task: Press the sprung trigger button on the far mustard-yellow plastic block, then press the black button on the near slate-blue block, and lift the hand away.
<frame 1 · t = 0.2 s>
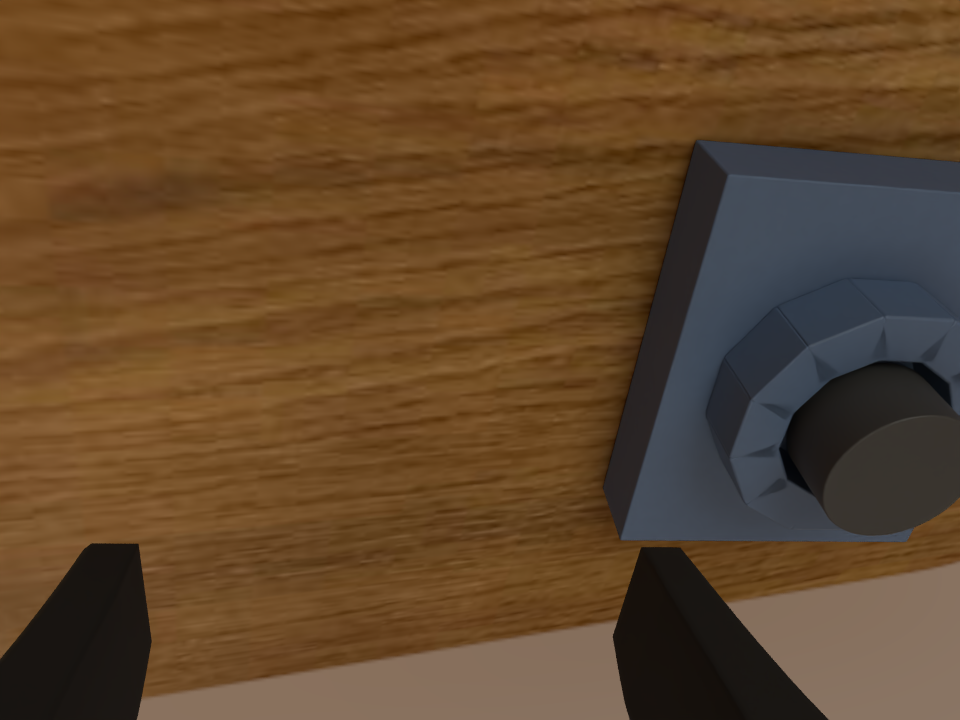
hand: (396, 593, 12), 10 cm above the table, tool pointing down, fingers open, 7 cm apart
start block: (797, 343, 24), on the table
start button: (879, 450, 20), point 5 cm above the table, slide at 0.1 cm
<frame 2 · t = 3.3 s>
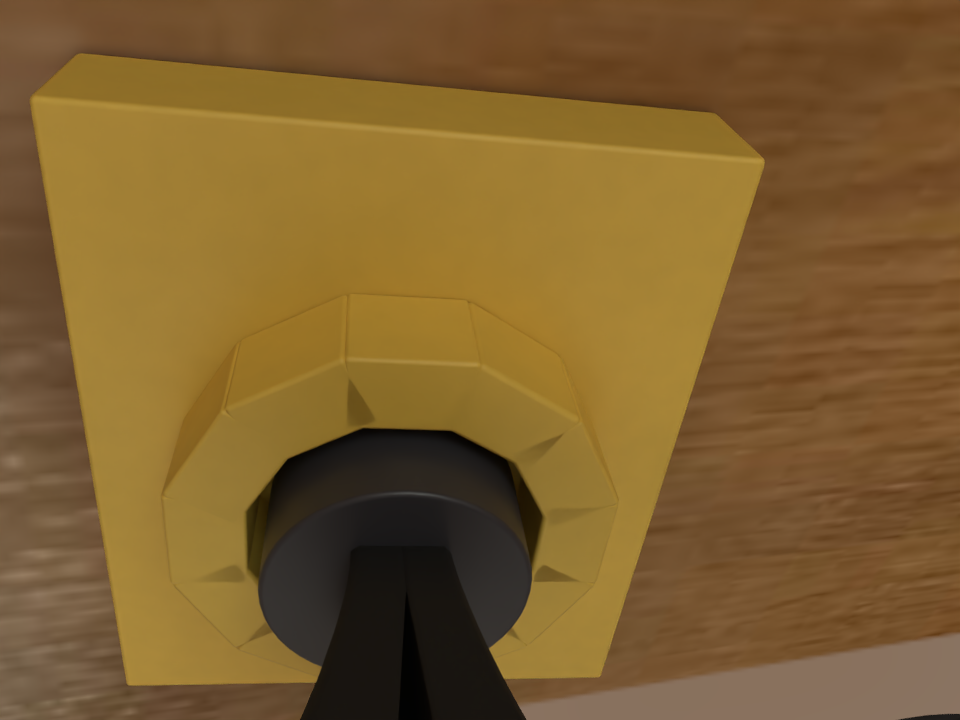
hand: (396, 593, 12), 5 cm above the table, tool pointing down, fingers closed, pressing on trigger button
trigger button: (395, 543, 13), point 4 cm above the table, slide at -0.6 cm, touching gripper
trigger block: (390, 393, 16), on the table
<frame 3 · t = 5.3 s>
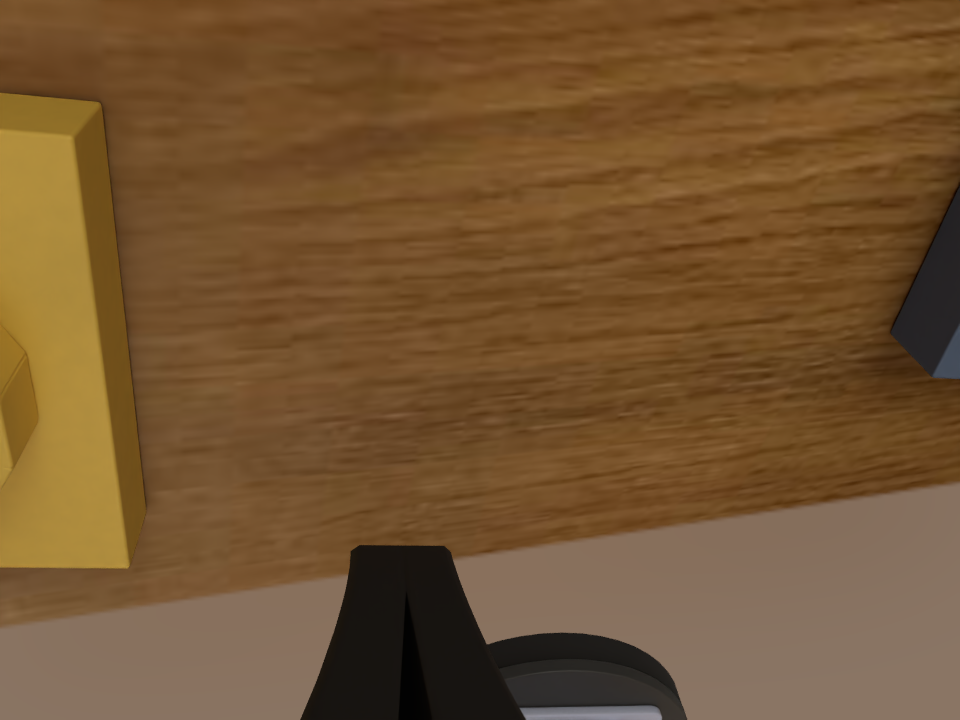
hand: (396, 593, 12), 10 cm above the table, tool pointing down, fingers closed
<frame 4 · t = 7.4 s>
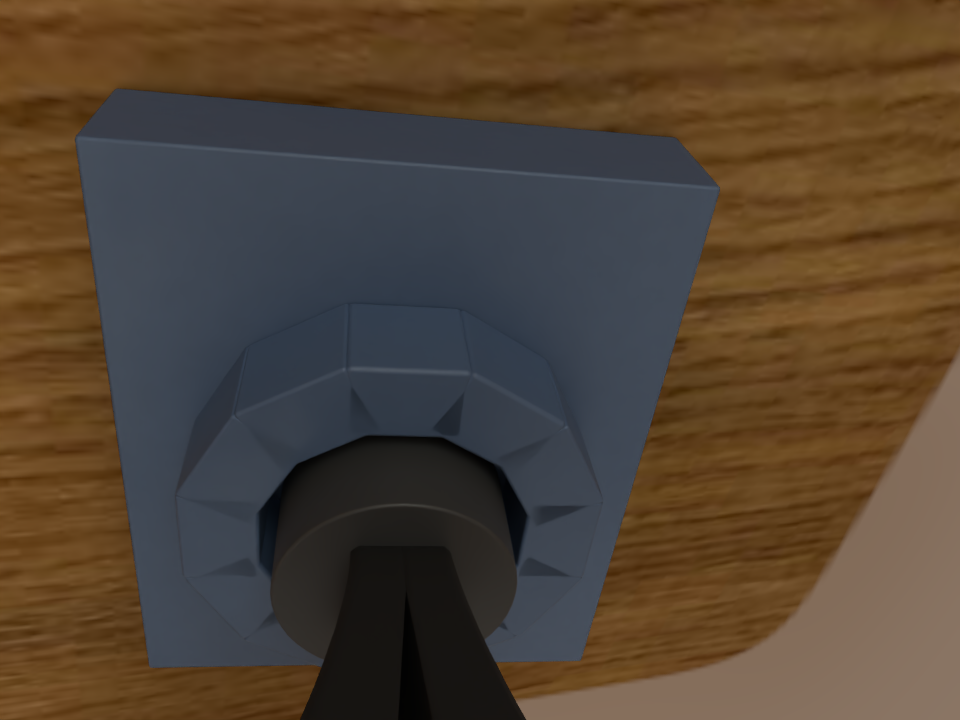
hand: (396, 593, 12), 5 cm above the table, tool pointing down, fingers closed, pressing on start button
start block: (388, 391, 17), on the table
start button: (394, 544, 13), point 4 cm above the table, slide at -0.5 cm, touching gripper
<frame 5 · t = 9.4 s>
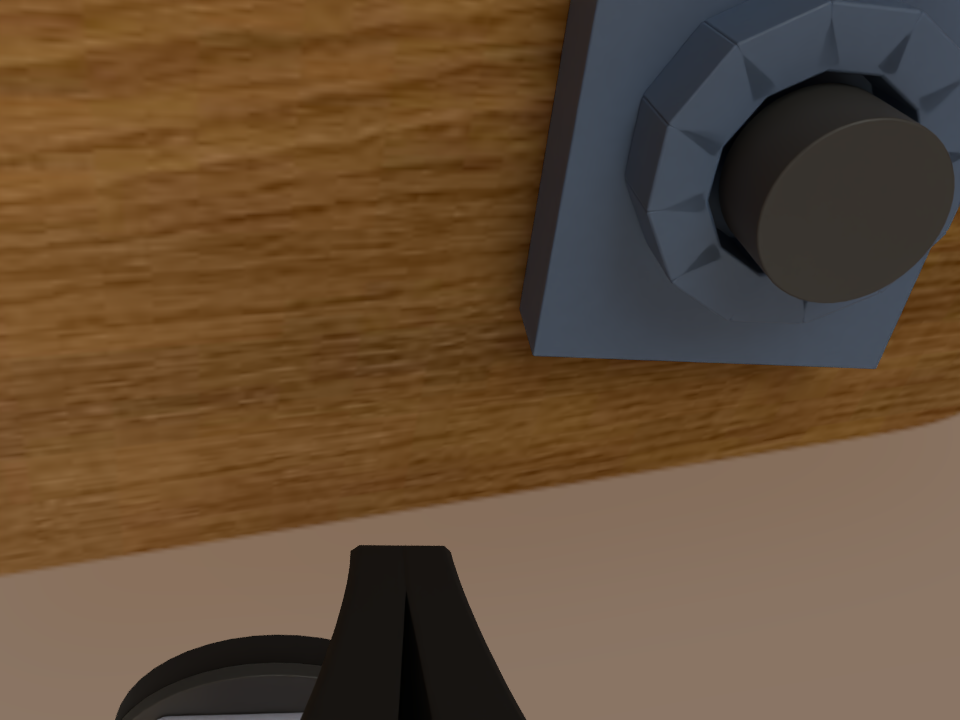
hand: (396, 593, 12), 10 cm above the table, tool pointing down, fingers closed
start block: (741, 115, 20), on the table
start button: (830, 194, 16), point 5 cm above the table, slide at 0.1 cm
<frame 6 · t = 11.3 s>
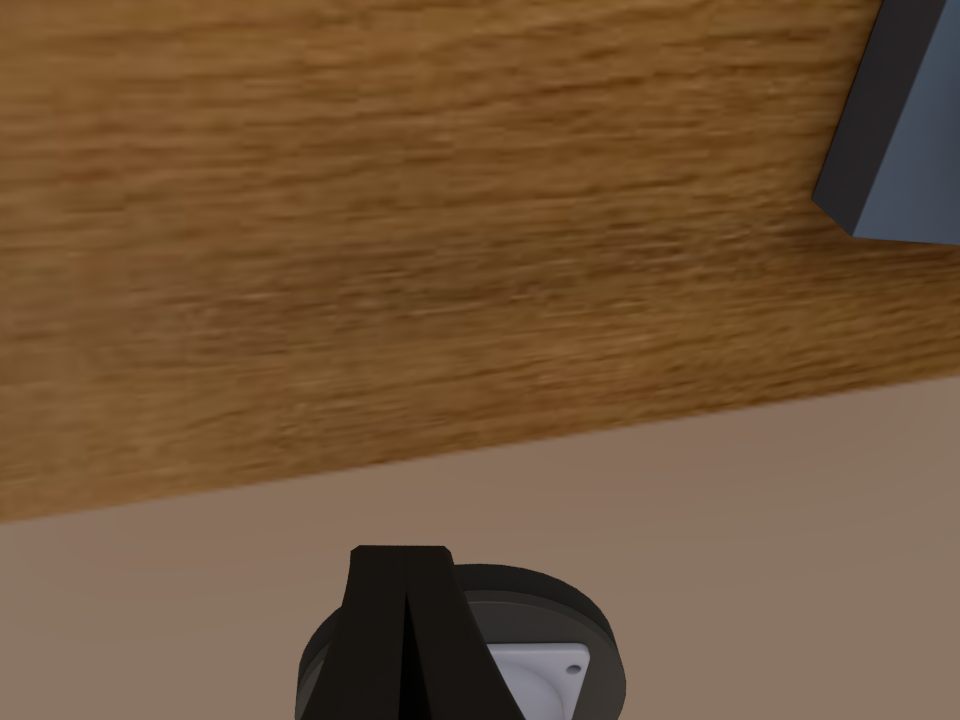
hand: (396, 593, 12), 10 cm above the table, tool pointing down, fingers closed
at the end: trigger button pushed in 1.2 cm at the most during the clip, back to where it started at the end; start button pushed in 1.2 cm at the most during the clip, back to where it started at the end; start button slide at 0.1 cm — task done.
